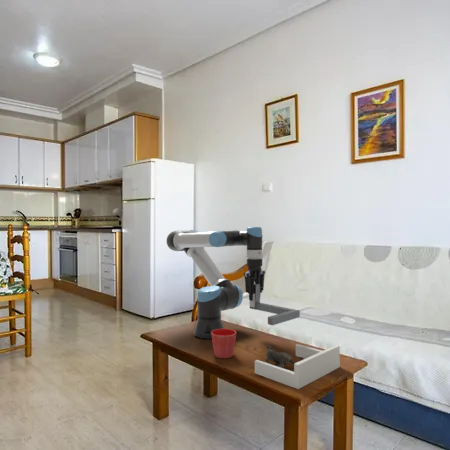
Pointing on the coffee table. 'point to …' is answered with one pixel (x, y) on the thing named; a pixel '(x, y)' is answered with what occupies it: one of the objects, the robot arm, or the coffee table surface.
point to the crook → (274, 309)
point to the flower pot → (223, 342)
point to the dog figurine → (278, 357)
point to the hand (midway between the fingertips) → (254, 306)
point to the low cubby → (302, 366)
